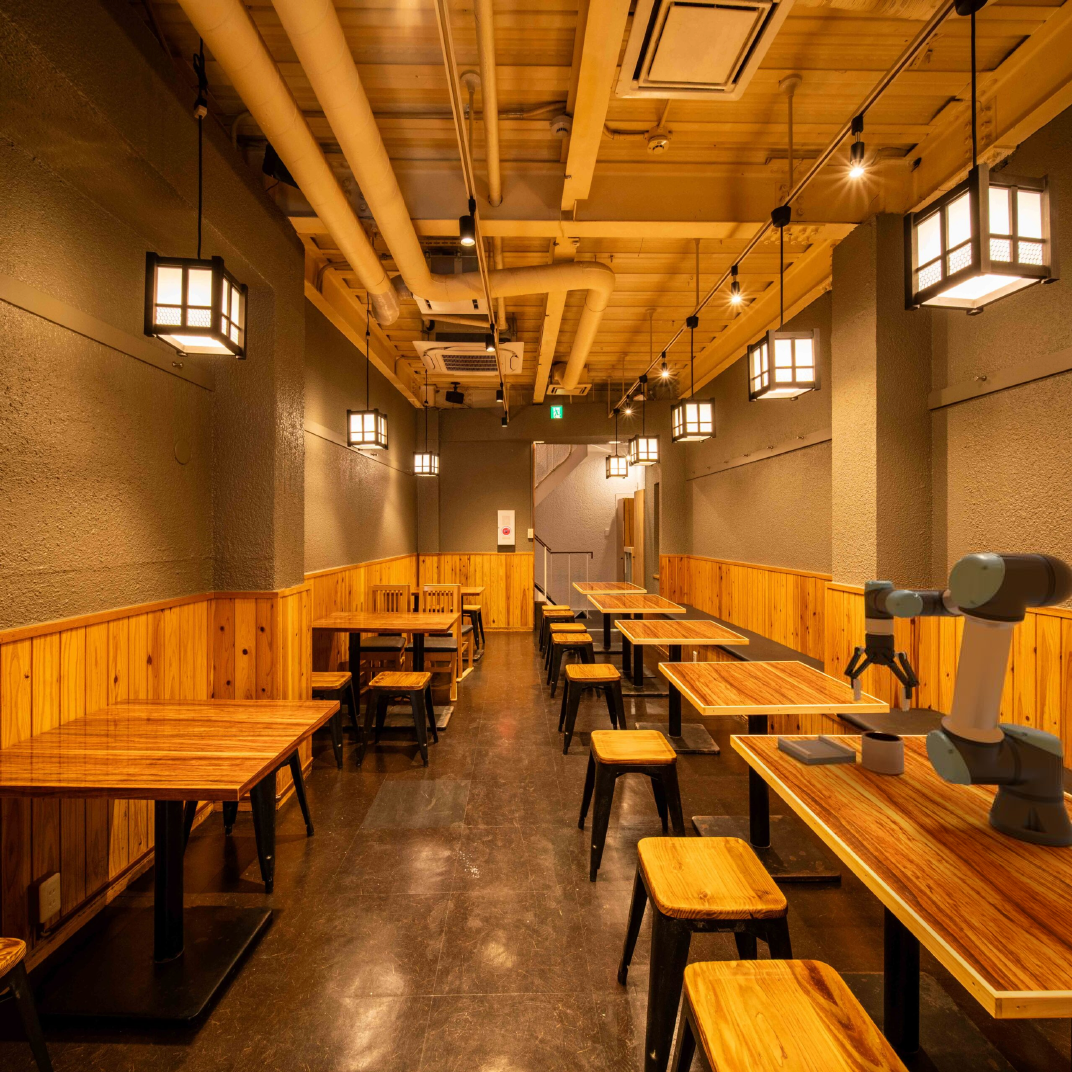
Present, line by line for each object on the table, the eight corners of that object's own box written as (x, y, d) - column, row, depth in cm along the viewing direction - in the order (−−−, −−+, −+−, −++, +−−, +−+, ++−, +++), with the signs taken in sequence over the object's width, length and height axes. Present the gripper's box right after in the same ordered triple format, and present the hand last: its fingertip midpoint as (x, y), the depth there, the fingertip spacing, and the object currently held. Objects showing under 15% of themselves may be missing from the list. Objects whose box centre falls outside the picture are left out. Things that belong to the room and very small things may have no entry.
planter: (879, 776, 168) (878, 742, 168) (853, 763, 179) (852, 731, 179) (913, 774, 170) (912, 741, 170) (885, 761, 180) (885, 729, 181)
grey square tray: (856, 762, 179) (856, 751, 180) (807, 765, 177) (807, 753, 177) (822, 745, 195) (822, 734, 195) (777, 747, 193) (777, 737, 193)
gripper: (932, 636, 167) (933, 712, 167) (844, 627, 188) (845, 695, 187) (920, 639, 163) (921, 716, 162) (831, 629, 183) (832, 698, 183)
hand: (880, 705), depth 175 cm, fingers open, 13 cm apart
